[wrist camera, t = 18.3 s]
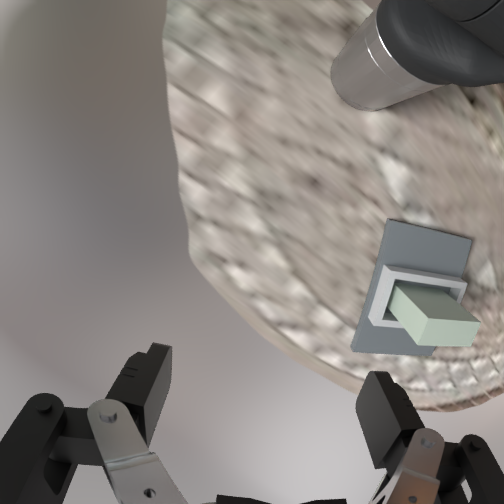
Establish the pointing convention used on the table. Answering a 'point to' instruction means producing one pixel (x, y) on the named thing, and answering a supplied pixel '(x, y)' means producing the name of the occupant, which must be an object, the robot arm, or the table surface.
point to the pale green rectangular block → (432, 316)
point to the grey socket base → (408, 283)
